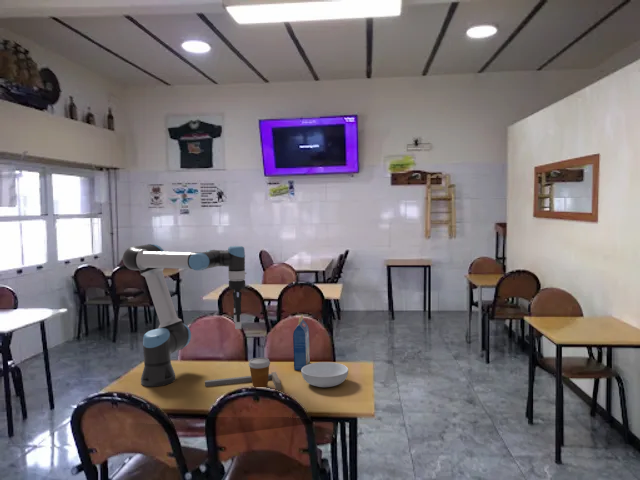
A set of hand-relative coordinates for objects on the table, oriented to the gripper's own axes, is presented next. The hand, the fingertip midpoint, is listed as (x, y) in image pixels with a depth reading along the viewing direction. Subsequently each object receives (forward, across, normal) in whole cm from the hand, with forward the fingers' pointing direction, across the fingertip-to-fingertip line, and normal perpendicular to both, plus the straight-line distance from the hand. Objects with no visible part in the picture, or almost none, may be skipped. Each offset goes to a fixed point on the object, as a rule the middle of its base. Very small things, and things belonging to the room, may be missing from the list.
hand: (237, 325), depth 225 cm
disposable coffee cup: (+25, -16, -9) cm, 31 cm away
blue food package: (+24, +8, -32) cm, 41 cm away
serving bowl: (+24, -19, -37) cm, 48 cm away
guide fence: (+25, -13, -1) cm, 28 cm away
